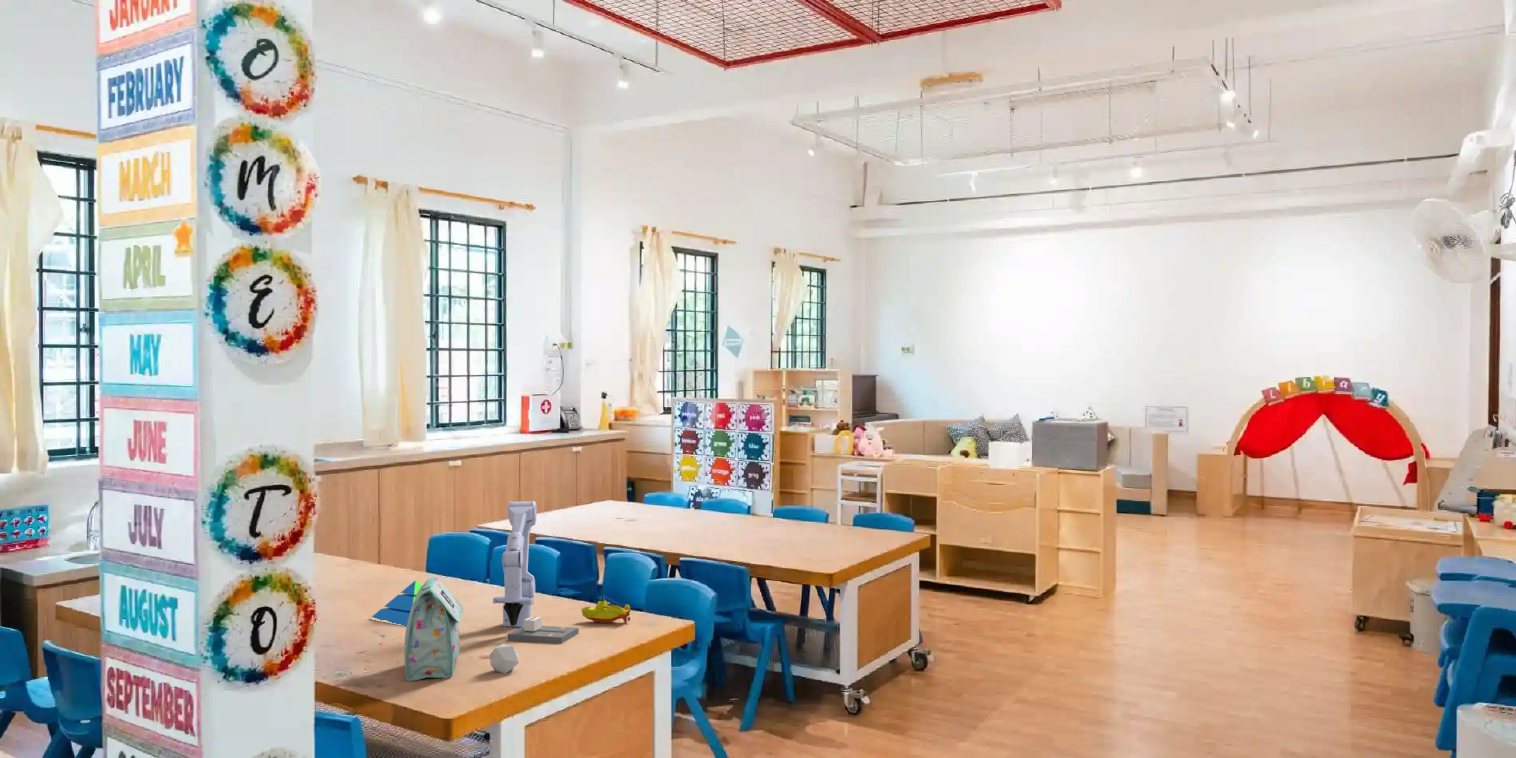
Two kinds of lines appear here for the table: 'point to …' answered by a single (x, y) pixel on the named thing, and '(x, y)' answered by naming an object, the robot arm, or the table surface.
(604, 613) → the toy boat
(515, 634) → the console board
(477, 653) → the table surface
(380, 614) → the pyramid toy
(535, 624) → the fader tab
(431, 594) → the lunch bag
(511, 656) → the die
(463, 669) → the table surface
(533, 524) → the robot arm
